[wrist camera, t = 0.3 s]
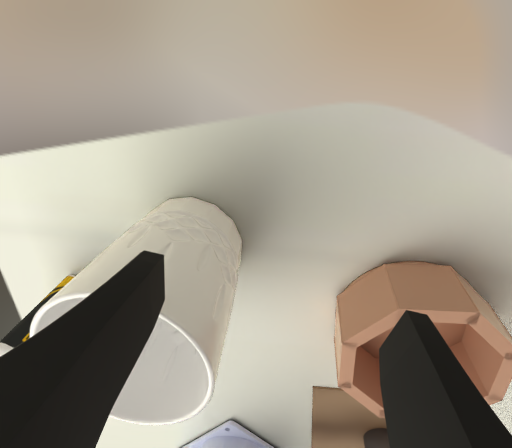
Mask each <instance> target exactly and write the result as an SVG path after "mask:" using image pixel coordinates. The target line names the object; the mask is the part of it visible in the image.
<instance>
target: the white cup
mask: <svg viewBox="0 0 512 448" xmlns="http://www.w3.org/2000/svg"><path fill="white" fill-rule="evenodd" d="M144 250H145V251H149V252H154V253H158V254H163V255H164V273H165V301H164V303H163V306H162V309H161V311H160V314H159V317H158V319H157V322H156V324H155V327H154V329H153V331H152V333H151V335H150V337H149V339H148V341H147V343H146V345H145V347H144V349H143V351H142V353H141V354H140V356H139V358H138V360H137V362H136V364H135V366H134V368H133V370H132V371H131V373H130V375H129V377H128V379H127V381H126V383H125V385H124V387H123V388H122V390H121V392H120V394H119V396H118V398H117V400H116V402H115V404H114V406H113V408H112V410H111V412H110V414H109V416H108V417H111V418H114V419H118V420H121V421H125V422H130V423H135V424H143V425H167V424H173V423H178V422H181V421H184V420H187V419H189V418H191V417H193V416H195V415H197V414H198V413H199V412H201V411H202V410H203V409H204V408H205V407H206V406H207V404H208V403H209V401H210V399H211V397H212V395H213V392H214V387H215V382H216V378H217V373H218V369H219V364H220V360H221V355H222V351H223V347H224V342H225V338H226V334H227V329H228V325H229V321H230V316H231V312H232V307H233V302H234V296H235V290H236V286H237V281H238V270H239V266H240V262H241V252H242V239H241V237H240V234H239V232H238V230H237V228H236V226H235V224H234V222H233V220H232V219H231V218H230V217H229V216H227V215H226V214H225V213H224V212H223V211H222V210H220V209H219V208H218V207H217V206H216V205H214V204H211V203H208V202H205V201H202V200H199V199H196V198H193V197H186V198H175V199H168V200H167V201H165V202H164V203H162V204H161V205H159V206H158V207H156V208H155V209H153V210H152V211H150V212H149V213H148V214H147V215H146V216H145V217H144V218H143V219H142V220H140V221H138V222H137V223H135V224H134V225H133V226H132V227H131V228H129V229H128V230H127V231H126V232H125V233H124V234H123V235H121V236H120V237H119V238H118V239H117V240H115V241H114V242H113V243H112V244H111V245H110V246H108V247H107V248H106V249H105V250H104V251H102V252H101V253H100V254H99V255H98V256H97V257H96V258H95V259H94V260H93V261H92V262H90V263H89V264H88V265H87V266H86V267H85V268H84V269H83V270H82V271H81V272H80V273H78V274H77V275H76V276H75V277H74V278H73V279H72V280H71V281H70V282H69V283H67V284H66V285H65V286H64V287H63V288H62V289H61V290H60V291H59V292H58V293H56V294H55V295H54V296H53V297H52V298H51V299H50V300H49V301H48V302H46V303H45V304H44V305H43V306H42V307H41V308H40V309H39V310H38V311H37V313H36V314H35V316H34V318H33V320H32V322H31V326H30V337H32V336H33V335H35V334H36V333H38V332H39V331H41V330H42V329H44V328H45V327H47V326H48V325H49V324H51V323H52V322H54V321H55V320H56V319H58V318H59V317H61V316H62V315H63V314H65V313H66V312H67V311H69V310H70V309H72V308H73V307H74V306H76V305H77V304H78V303H80V302H81V301H82V300H84V299H85V298H86V297H87V296H89V295H90V294H91V293H92V292H94V291H95V290H96V289H98V288H99V287H100V286H101V285H103V284H104V283H105V282H106V281H108V280H109V279H110V278H111V277H112V276H114V275H115V274H116V273H117V272H118V271H120V270H121V269H122V268H123V267H124V266H125V265H127V264H128V263H129V262H130V261H131V260H132V259H134V258H135V257H136V256H137V255H138V254H139V253H140V252H142V251H144Z"/></svg>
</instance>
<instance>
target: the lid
mask: <svg viewBox="0 0 512 448" xmlns="http://www.w3.org/2000/svg"><path fill="white" fill-rule="evenodd" d="M312 448H390V446H389V439H388V433H387V427H386V420H385V418H379V417H378V416H377V415H375V414H374V413H373V412H371V411H370V410H369V409H367V408H366V407H365V406H363V405H362V404H361V403H359V402H358V401H357V400H355V399H354V398H353V397H351V396H350V395H349V394H348V393H346V392H345V391H344V390H342V389H340V388H328V387H316V386H313V408H312Z"/></svg>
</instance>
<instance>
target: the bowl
mask: <svg viewBox="0 0 512 448" xmlns="http://www.w3.org/2000/svg"><path fill="white" fill-rule="evenodd" d="M406 310H409V311H413V312H418V313H422V314H427V315H428V316H429V318H430V319H431V321H432V322H433V324H434V325H435V327H436V328H437V330H438V331H439V333H440V334H441V336H442V337H443V339H444V340H445V342H446V343H447V345H448V346H449V348H450V349H451V351H452V352H453V354H454V355H455V357H456V358H457V360H458V361H459V363H460V364H461V366H462V367H463V369H464V370H465V372H466V373H467V375H468V376H469V378H470V379H471V380H472V382H473V383H474V385H475V386H476V388H477V389H478V390H479V392H480V393H481V395H482V396H483V398H484V399H485V400H486V402H487V403H488V404H489V405H491V404H494V403H497V402H499V401H502V400H503V397H504V395H505V393H506V391H507V388H508V386H509V384H510V382H511V379H512V337H511V335H510V334H509V332H508V331H507V329H506V328H505V326H504V325H503V324H502V322H501V321H500V319H499V318H498V316H497V315H496V313H495V312H494V310H493V309H492V307H491V306H490V304H489V303H488V302H487V301H486V300H485V299H484V298H483V297H482V296H480V295H479V294H478V293H477V292H476V291H475V290H474V289H473V287H472V286H471V285H470V284H469V283H468V281H467V280H466V279H464V278H463V277H462V276H461V275H459V274H458V273H457V272H456V271H455V270H454V269H453V268H452V266H441V265H437V264H433V263H428V262H420V261H404V262H396V263H391V264H383V265H382V266H380V267H377V268H374V269H372V270H370V271H368V272H366V273H364V274H363V275H361V276H359V277H358V278H357V279H355V280H354V281H353V282H352V283H351V284H350V285H349V286H348V287H347V288H346V289H345V290H344V292H342V293H341V294H339V295H337V306H336V312H335V320H336V321H335V336H334V343H335V355H336V367H337V379H338V387H340V388H341V389H342V390H344V391H345V392H346V393H348V394H349V395H350V396H351V397H353V398H354V399H355V400H357V401H358V402H359V403H361V404H362V405H363V406H365V407H366V408H367V409H369V410H370V411H371V412H373V413H374V414H375V415H377V416H378V417H379V418H385V414H384V407H383V401H382V394H381V387H380V371H379V348H380V347H381V345H382V344H383V342H384V341H385V340H386V338H387V337H388V335H389V334H390V332H391V331H392V329H393V328H394V327H395V325H396V324H397V322H398V321H399V319H400V318H401V316H402V315H403V314H404V312H405V311H406Z"/></svg>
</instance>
